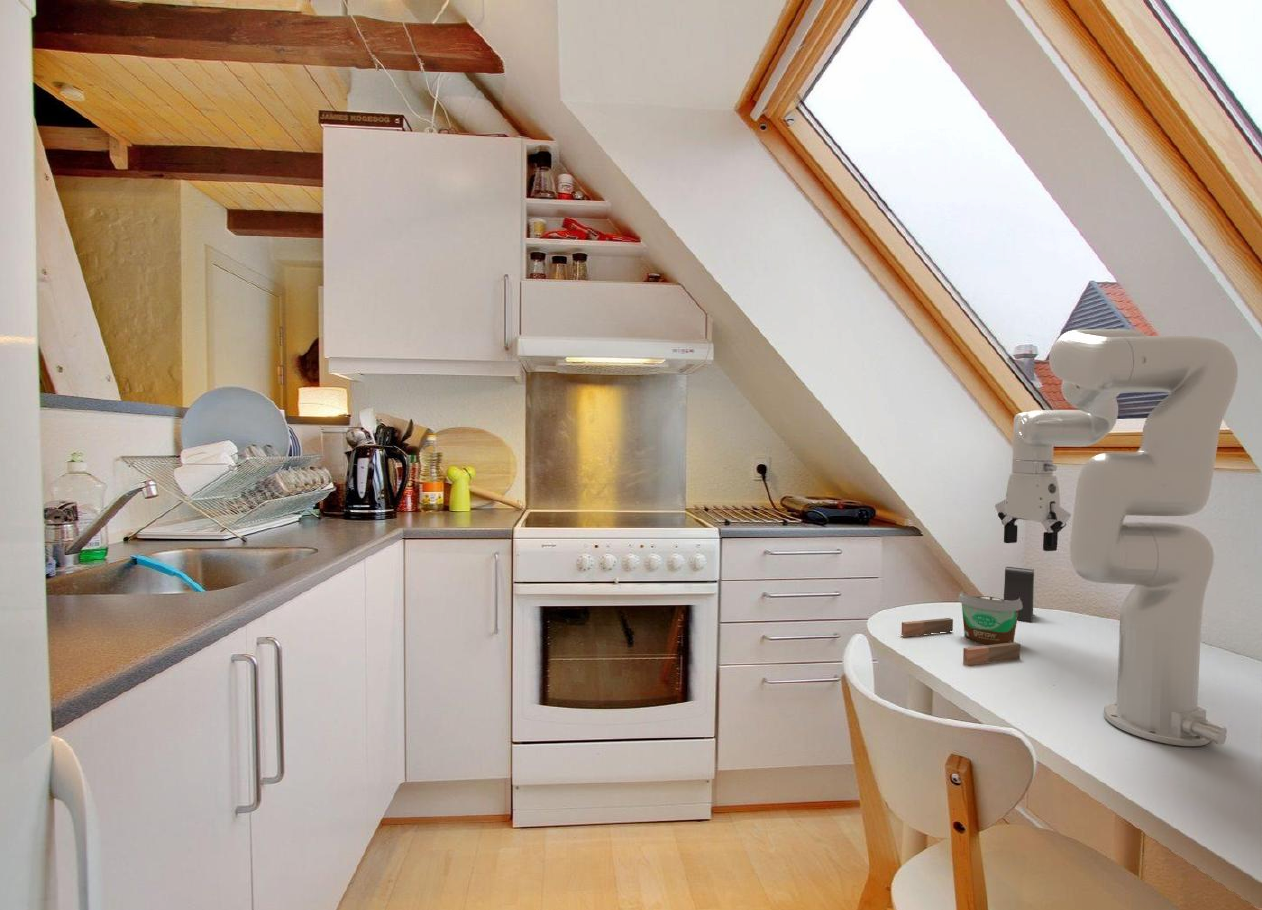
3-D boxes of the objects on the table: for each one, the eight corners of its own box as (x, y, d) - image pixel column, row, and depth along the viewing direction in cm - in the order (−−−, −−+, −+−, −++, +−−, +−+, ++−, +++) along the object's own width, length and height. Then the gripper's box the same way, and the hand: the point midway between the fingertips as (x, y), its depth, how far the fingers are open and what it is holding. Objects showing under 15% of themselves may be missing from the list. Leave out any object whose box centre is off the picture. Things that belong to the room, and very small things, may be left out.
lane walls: (1019, 658, 126) (1020, 643, 126) (968, 665, 122) (968, 649, 122) (948, 630, 144) (948, 617, 143) (901, 635, 140) (901, 622, 140)
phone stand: (1005, 610, 161) (1007, 563, 161) (1033, 614, 158) (1035, 566, 157) (1002, 618, 154) (1003, 569, 153) (1031, 622, 150) (1032, 573, 150)
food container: (956, 642, 136) (958, 596, 135) (957, 634, 141) (958, 590, 141) (1023, 652, 130) (1025, 604, 129) (1021, 643, 135) (1022, 597, 135)
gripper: (1083, 471, 130) (1080, 553, 131) (1010, 466, 147) (1008, 539, 147) (1056, 471, 128) (1053, 555, 129) (985, 466, 144) (983, 540, 145)
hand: (1029, 546), depth 138 cm, fingers open, 9 cm apart
